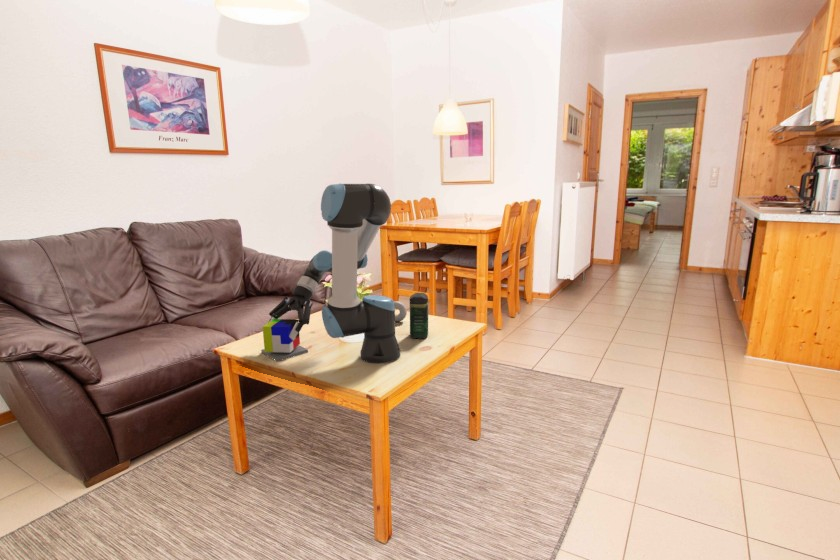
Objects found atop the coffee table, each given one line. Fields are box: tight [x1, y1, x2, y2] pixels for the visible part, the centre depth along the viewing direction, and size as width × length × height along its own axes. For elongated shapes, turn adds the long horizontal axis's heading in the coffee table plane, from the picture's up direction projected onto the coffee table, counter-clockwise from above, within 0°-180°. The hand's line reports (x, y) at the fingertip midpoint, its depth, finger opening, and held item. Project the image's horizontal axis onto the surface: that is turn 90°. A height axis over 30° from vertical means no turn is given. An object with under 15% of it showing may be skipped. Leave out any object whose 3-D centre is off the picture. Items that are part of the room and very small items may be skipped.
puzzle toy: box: [262, 318, 301, 353], centre depth 175 cm, size 10×10×10 cm
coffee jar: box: [409, 292, 429, 339], centre depth 194 cm, size 10×8×19 cm
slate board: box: [260, 344, 309, 362], centre depth 178 cm, size 13×13×1 cm
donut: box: [393, 300, 408, 322], centre depth 216 cm, size 10×4×10 cm, turn 71°
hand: (278, 335), depth 174 cm, fingers closed on puzzle toy, 13 cm apart
